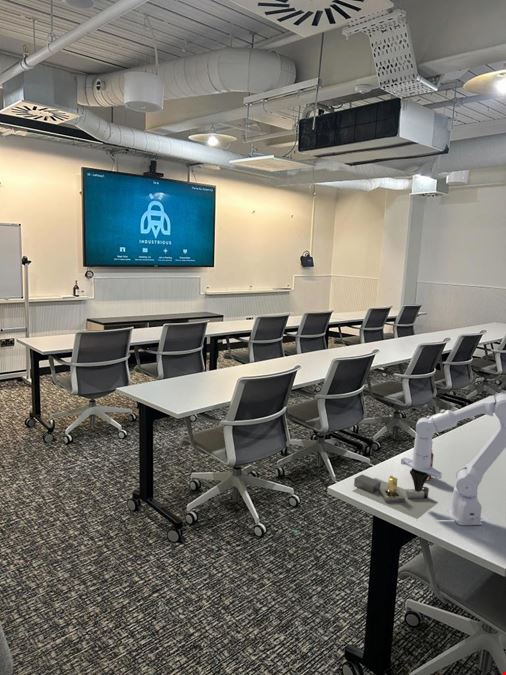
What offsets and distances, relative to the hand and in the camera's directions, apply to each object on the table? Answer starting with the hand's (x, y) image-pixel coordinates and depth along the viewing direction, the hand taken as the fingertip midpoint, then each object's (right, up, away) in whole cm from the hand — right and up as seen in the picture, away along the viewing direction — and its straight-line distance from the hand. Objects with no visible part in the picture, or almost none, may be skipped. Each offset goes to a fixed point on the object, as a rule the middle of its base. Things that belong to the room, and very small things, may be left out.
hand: (418, 490), depth 168 cm
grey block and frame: (-12, -3, +10) cm, 16 cm away
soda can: (+9, -3, +23) cm, 25 cm away
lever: (+2, -4, +6) cm, 8 cm away
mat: (-6, -5, +7) cm, 10 cm away
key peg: (-8, -4, +6) cm, 11 cm away
